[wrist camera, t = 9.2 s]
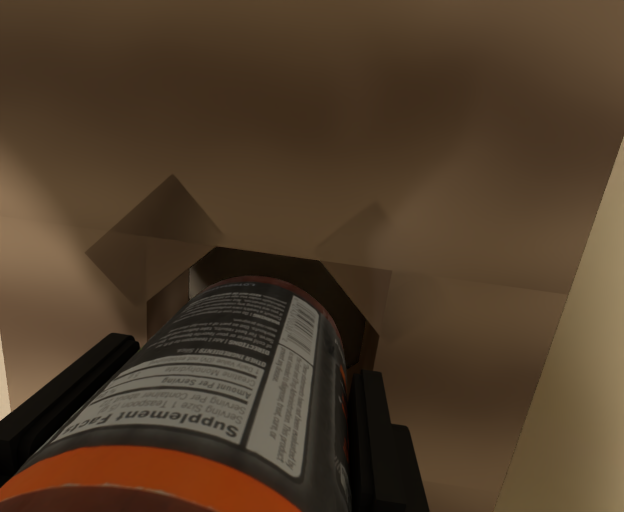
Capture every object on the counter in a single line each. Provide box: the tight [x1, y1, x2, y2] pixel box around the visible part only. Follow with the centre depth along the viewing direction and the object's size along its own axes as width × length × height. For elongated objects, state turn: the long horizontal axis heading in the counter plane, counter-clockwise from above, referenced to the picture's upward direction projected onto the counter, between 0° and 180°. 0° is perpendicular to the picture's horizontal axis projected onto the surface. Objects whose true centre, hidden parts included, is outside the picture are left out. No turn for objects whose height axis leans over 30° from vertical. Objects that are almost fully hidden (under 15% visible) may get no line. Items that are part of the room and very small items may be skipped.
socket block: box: [0, 0, 624, 512], centre depth 13 cm, size 21×18×4 cm
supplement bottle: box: [0, 276, 352, 512], centre depth 7 cm, size 6×6×11 cm
